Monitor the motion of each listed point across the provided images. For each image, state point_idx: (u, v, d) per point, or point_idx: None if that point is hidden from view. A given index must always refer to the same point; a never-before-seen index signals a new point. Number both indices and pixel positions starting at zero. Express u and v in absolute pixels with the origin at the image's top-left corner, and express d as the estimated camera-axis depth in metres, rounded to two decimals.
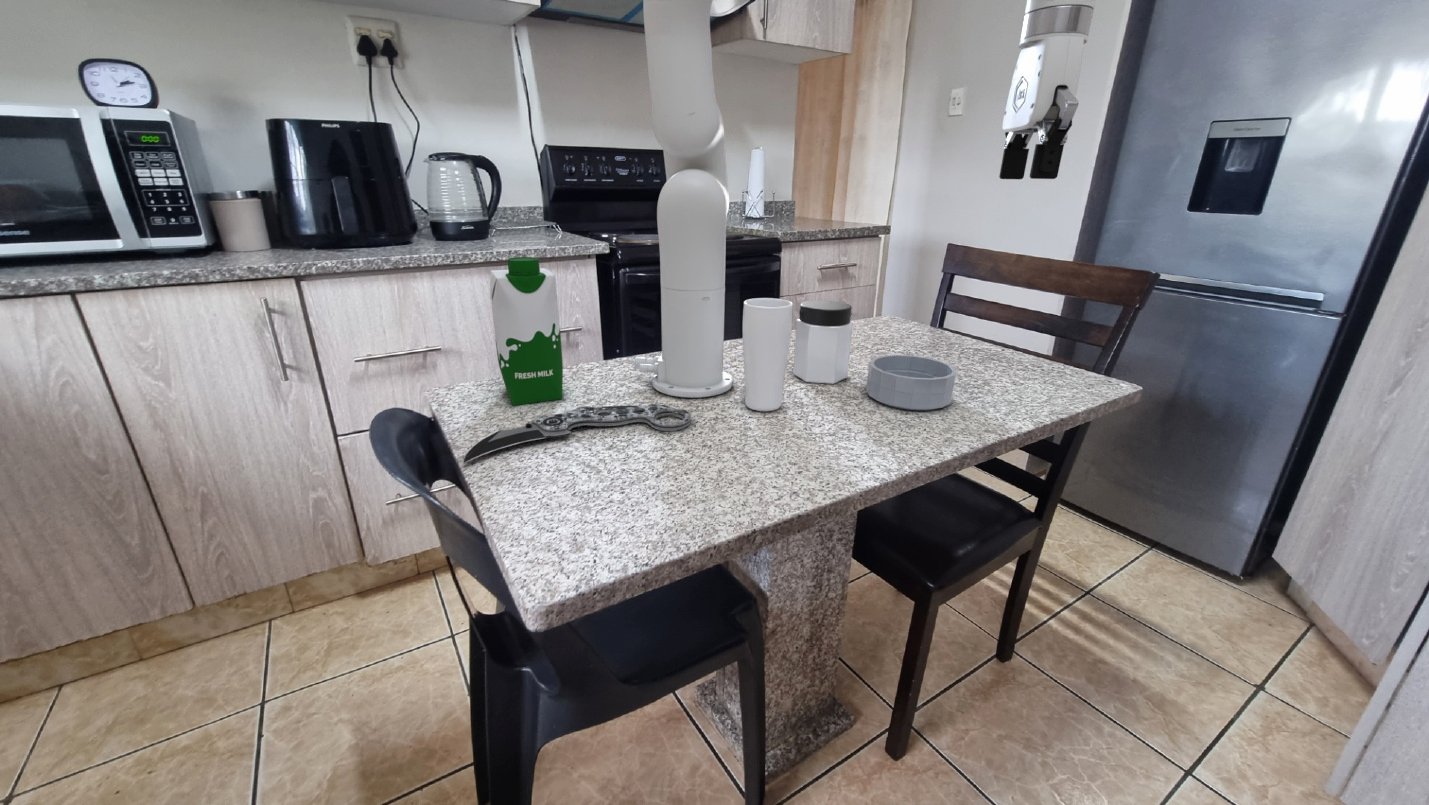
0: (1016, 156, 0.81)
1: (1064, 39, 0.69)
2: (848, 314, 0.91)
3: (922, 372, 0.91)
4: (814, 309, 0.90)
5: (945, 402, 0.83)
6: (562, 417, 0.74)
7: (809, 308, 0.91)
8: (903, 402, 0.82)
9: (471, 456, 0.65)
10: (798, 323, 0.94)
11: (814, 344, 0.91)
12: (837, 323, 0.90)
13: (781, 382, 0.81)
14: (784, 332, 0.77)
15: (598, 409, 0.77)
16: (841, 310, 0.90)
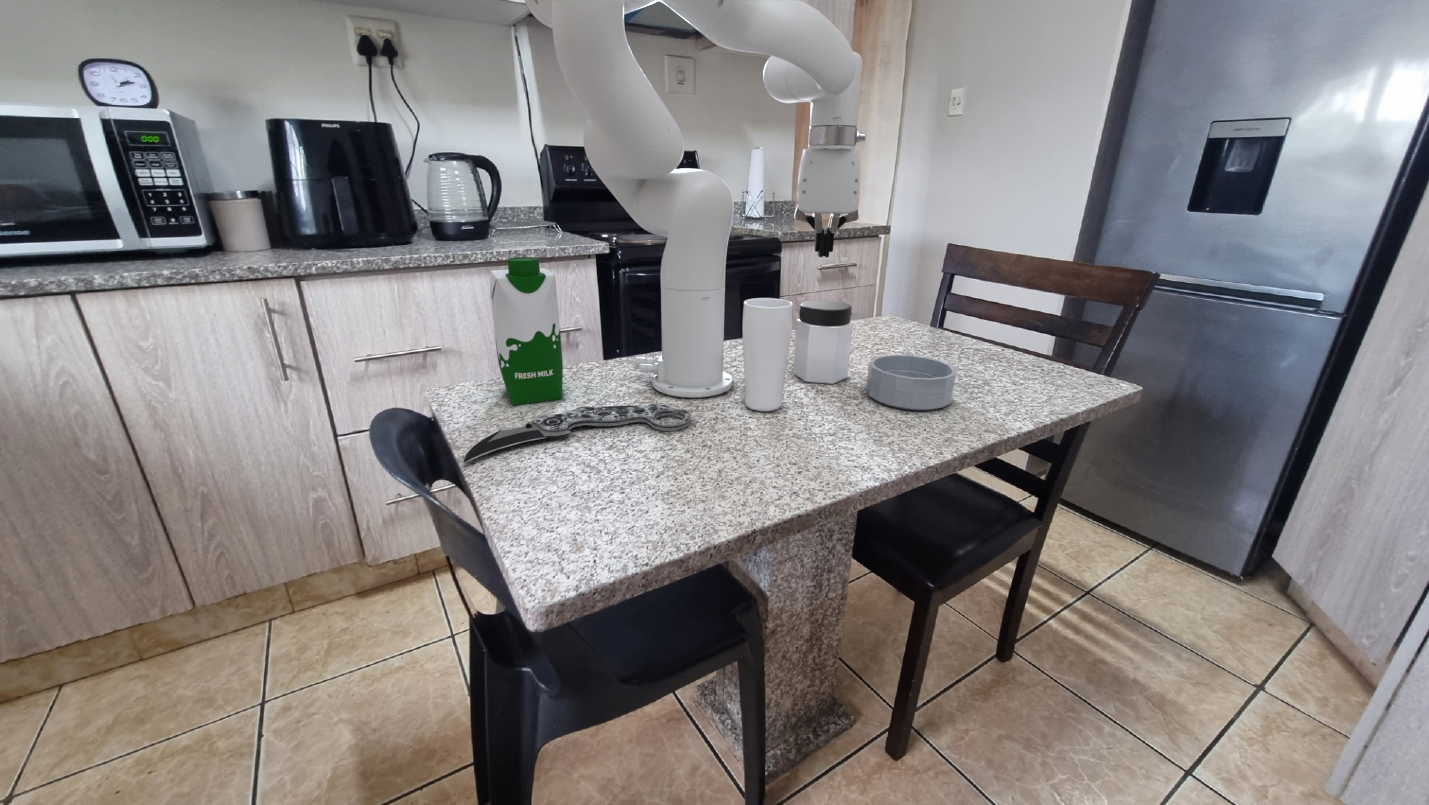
0: None
1: None
2: (848, 314, 0.91)
3: (922, 372, 0.91)
4: (814, 309, 0.90)
5: (945, 402, 0.83)
6: (562, 417, 0.74)
7: (809, 308, 0.91)
8: (903, 402, 0.82)
9: (471, 456, 0.65)
10: (798, 323, 0.94)
11: (814, 344, 0.91)
12: (837, 323, 0.90)
13: (781, 382, 0.81)
14: (784, 332, 0.77)
15: (598, 409, 0.77)
16: (841, 310, 0.90)
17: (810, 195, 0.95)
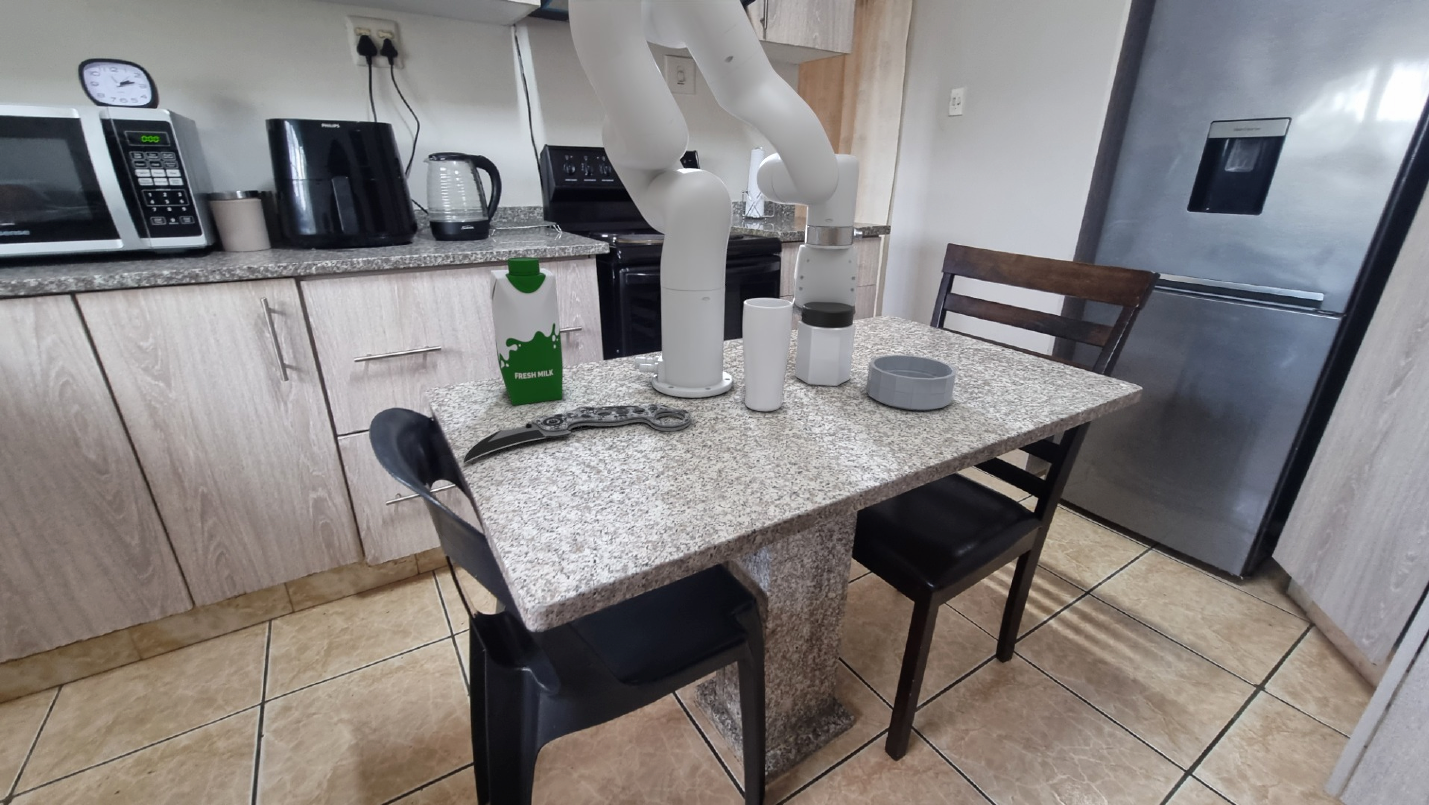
0: None
1: (799, 247, 0.95)
2: (851, 316, 0.90)
3: (922, 372, 0.91)
4: (817, 311, 0.89)
5: (945, 402, 0.83)
6: (562, 417, 0.74)
7: (812, 310, 0.89)
8: (903, 402, 0.82)
9: (471, 456, 0.65)
10: (800, 325, 0.93)
11: (817, 346, 0.90)
12: (840, 325, 0.89)
13: (781, 382, 0.81)
14: (784, 332, 0.77)
15: (598, 409, 0.77)
16: (844, 312, 0.89)
17: (807, 292, 0.94)
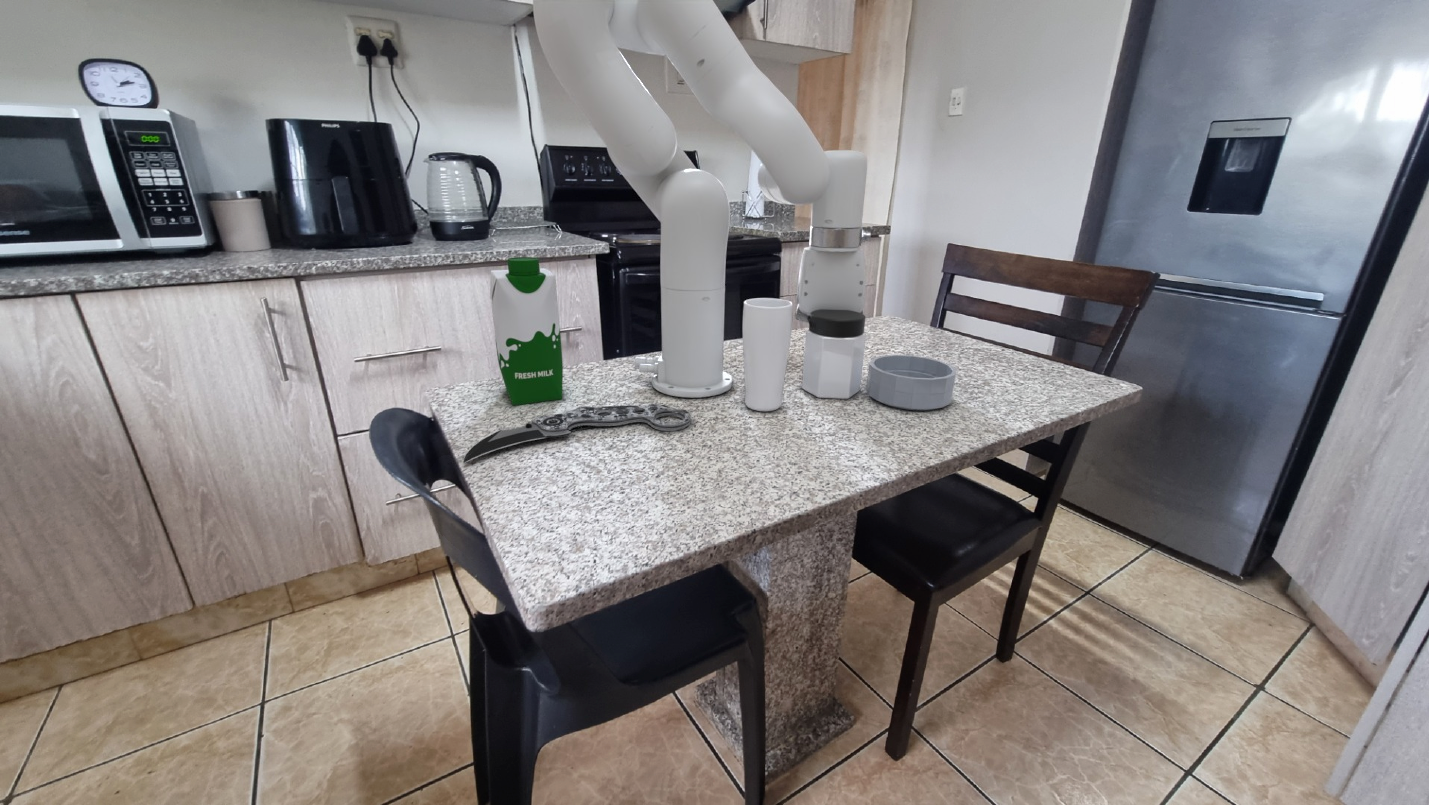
0: None
1: None
2: (863, 324, 0.85)
3: (922, 372, 0.91)
4: (827, 320, 0.83)
5: (945, 402, 0.83)
6: (562, 417, 0.74)
7: (822, 318, 0.84)
8: (903, 402, 0.82)
9: (471, 456, 0.65)
10: (807, 334, 0.87)
11: (827, 357, 0.85)
12: (852, 334, 0.84)
13: (781, 382, 0.81)
14: (784, 332, 0.77)
15: (598, 409, 0.77)
16: (856, 320, 0.83)
17: (812, 297, 0.89)
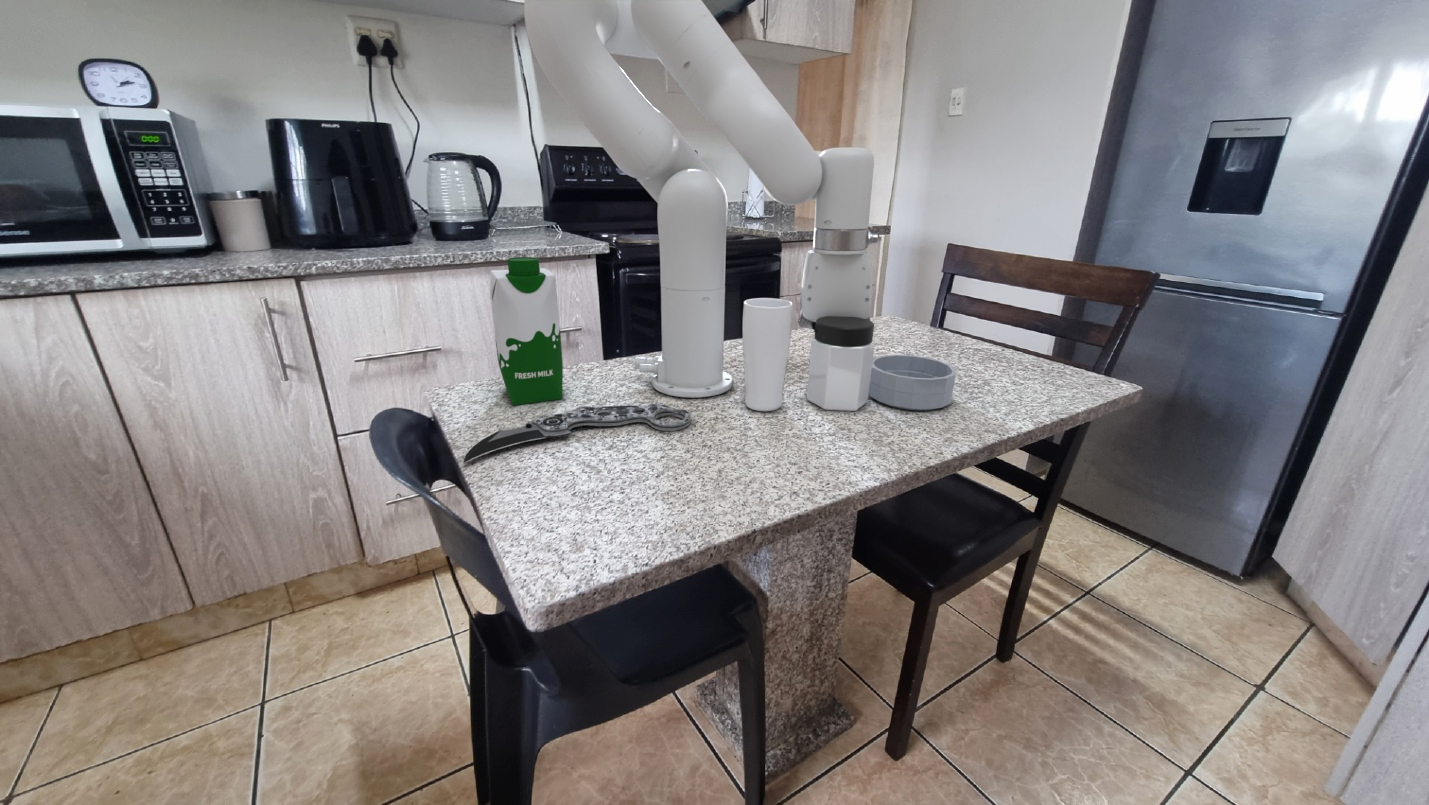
0: None
1: (807, 253, 0.85)
2: (872, 332, 0.80)
3: (922, 372, 0.91)
4: (835, 328, 0.79)
5: (945, 402, 0.83)
6: (562, 417, 0.74)
7: (829, 326, 0.79)
8: (903, 402, 0.82)
9: (471, 456, 0.65)
10: (813, 343, 0.83)
11: (835, 367, 0.80)
12: (861, 343, 0.79)
13: (781, 382, 0.81)
14: (784, 332, 0.77)
15: (598, 409, 0.77)
16: (865, 328, 0.79)
17: (816, 303, 0.84)
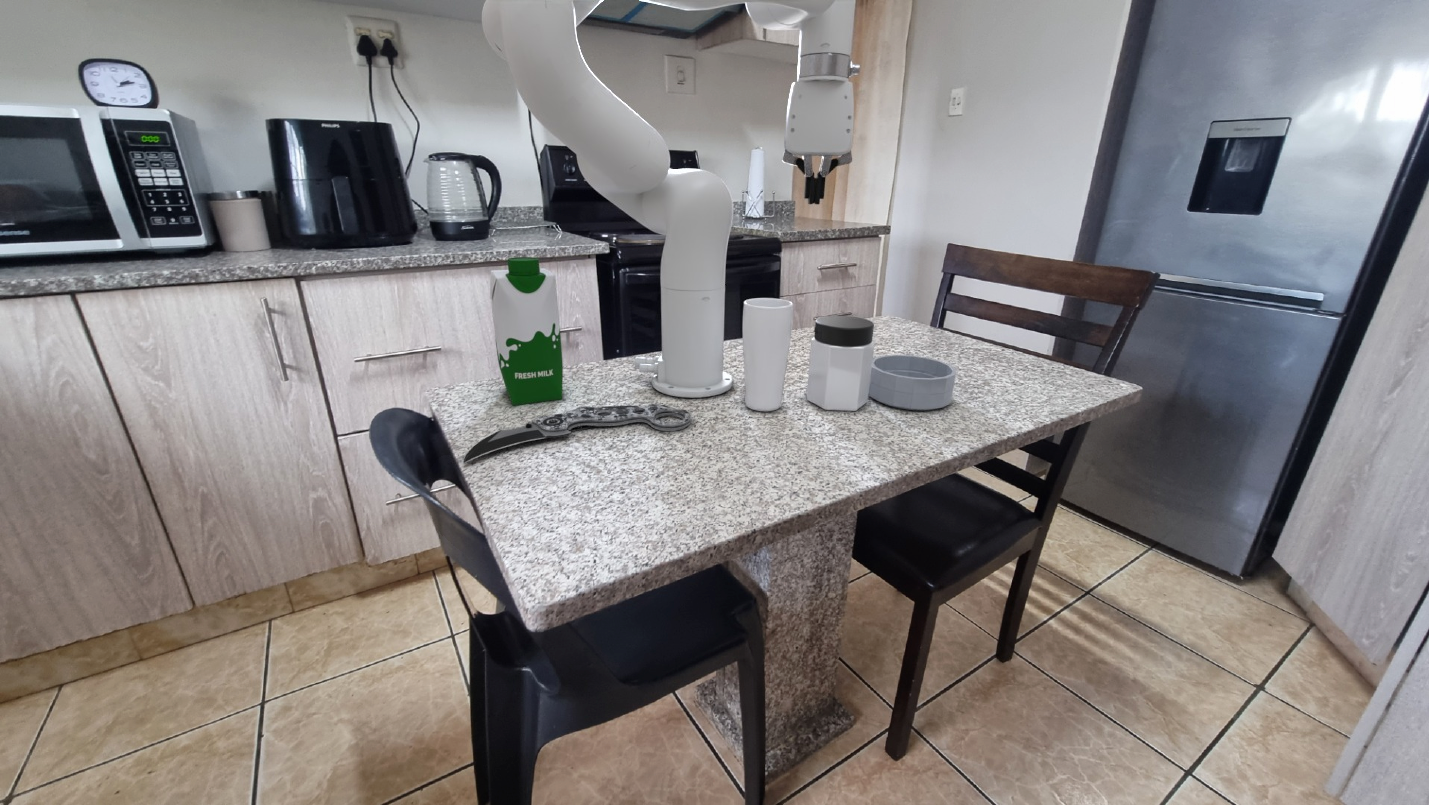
0: (815, 184, 0.91)
1: (791, 86, 0.87)
2: (871, 332, 0.80)
3: (922, 372, 0.91)
4: (835, 328, 0.79)
5: (945, 402, 0.83)
6: (562, 417, 0.74)
7: (828, 326, 0.79)
8: (903, 402, 0.82)
9: (471, 456, 0.65)
10: (813, 343, 0.83)
11: (835, 367, 0.80)
12: (861, 343, 0.79)
13: (781, 382, 0.81)
14: (784, 332, 0.77)
15: (598, 409, 0.77)
16: (865, 328, 0.79)
17: (799, 134, 0.87)
